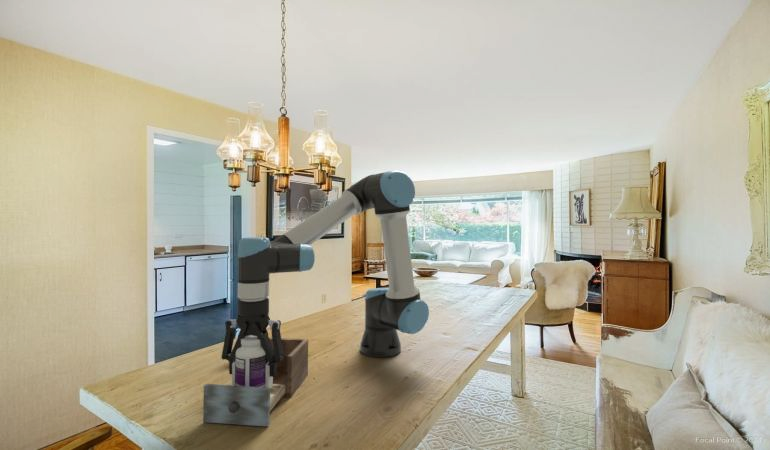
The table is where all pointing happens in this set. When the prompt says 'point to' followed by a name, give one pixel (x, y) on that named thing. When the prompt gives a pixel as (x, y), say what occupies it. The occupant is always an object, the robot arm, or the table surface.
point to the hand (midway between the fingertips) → (252, 387)
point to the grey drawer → (240, 404)
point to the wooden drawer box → (292, 365)
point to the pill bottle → (250, 363)
